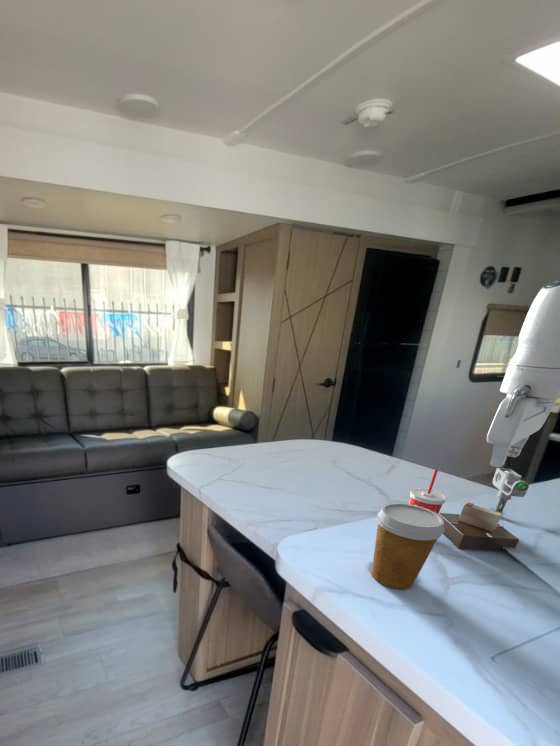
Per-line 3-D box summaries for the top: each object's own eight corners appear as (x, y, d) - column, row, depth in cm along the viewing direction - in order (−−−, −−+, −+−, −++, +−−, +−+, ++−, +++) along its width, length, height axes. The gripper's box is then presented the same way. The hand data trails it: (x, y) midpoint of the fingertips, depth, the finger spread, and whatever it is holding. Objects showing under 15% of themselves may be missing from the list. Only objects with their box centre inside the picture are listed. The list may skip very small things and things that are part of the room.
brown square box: (483, 528, 86) (488, 515, 85) (514, 553, 77) (520, 538, 76) (433, 524, 87) (437, 511, 86) (458, 549, 78) (463, 534, 76)
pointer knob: (495, 529, 79) (502, 512, 78) (492, 532, 78) (500, 514, 77) (461, 518, 83) (467, 501, 82) (458, 520, 82) (464, 503, 81)
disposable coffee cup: (436, 586, 66) (460, 520, 61) (400, 602, 62) (423, 534, 57) (384, 558, 74) (402, 498, 69) (349, 571, 70) (365, 508, 64)
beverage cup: (431, 545, 79) (455, 478, 73) (397, 536, 82) (417, 471, 76) (432, 533, 84) (455, 468, 78) (400, 525, 86) (419, 462, 80)
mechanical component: (499, 524, 88) (517, 481, 84) (479, 506, 97) (494, 466, 93) (514, 526, 88) (533, 483, 83) (493, 507, 97) (509, 467, 92)
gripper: (541, 392, 61) (507, 477, 67) (571, 381, 73) (539, 455, 79) (492, 386, 65) (464, 467, 72) (527, 377, 77) (501, 447, 83)
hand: (504, 460), depth 75 cm, fingers open, 8 cm apart
